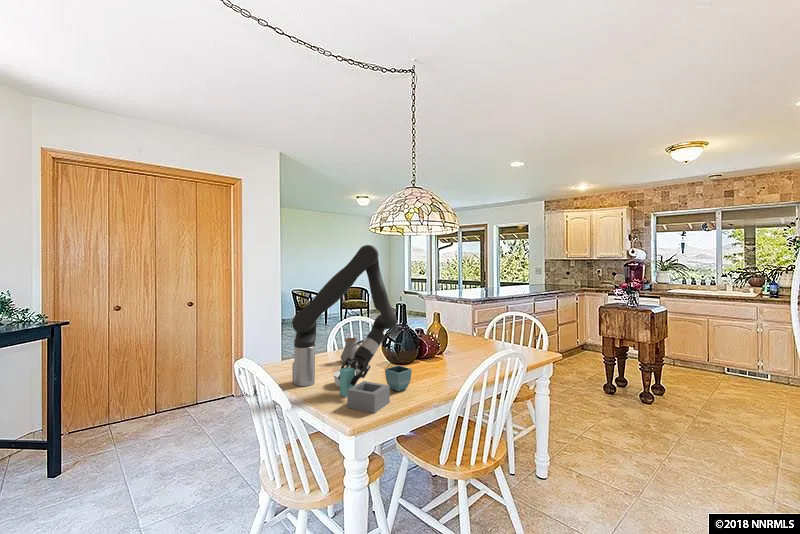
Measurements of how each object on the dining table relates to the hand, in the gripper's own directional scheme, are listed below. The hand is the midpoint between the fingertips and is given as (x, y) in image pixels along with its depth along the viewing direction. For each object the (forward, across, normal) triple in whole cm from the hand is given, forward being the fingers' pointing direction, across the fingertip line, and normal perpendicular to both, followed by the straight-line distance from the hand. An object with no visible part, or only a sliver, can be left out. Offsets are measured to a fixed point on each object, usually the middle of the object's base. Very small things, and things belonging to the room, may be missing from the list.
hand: (345, 382), depth 164 cm
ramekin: (-2, -11, +10) cm, 15 cm away
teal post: (+3, 0, +5) cm, 6 cm away
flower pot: (-11, +10, +19) cm, 24 cm away
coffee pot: (-19, -36, +27) cm, 49 cm away
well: (+4, +15, +4) cm, 16 cm away
